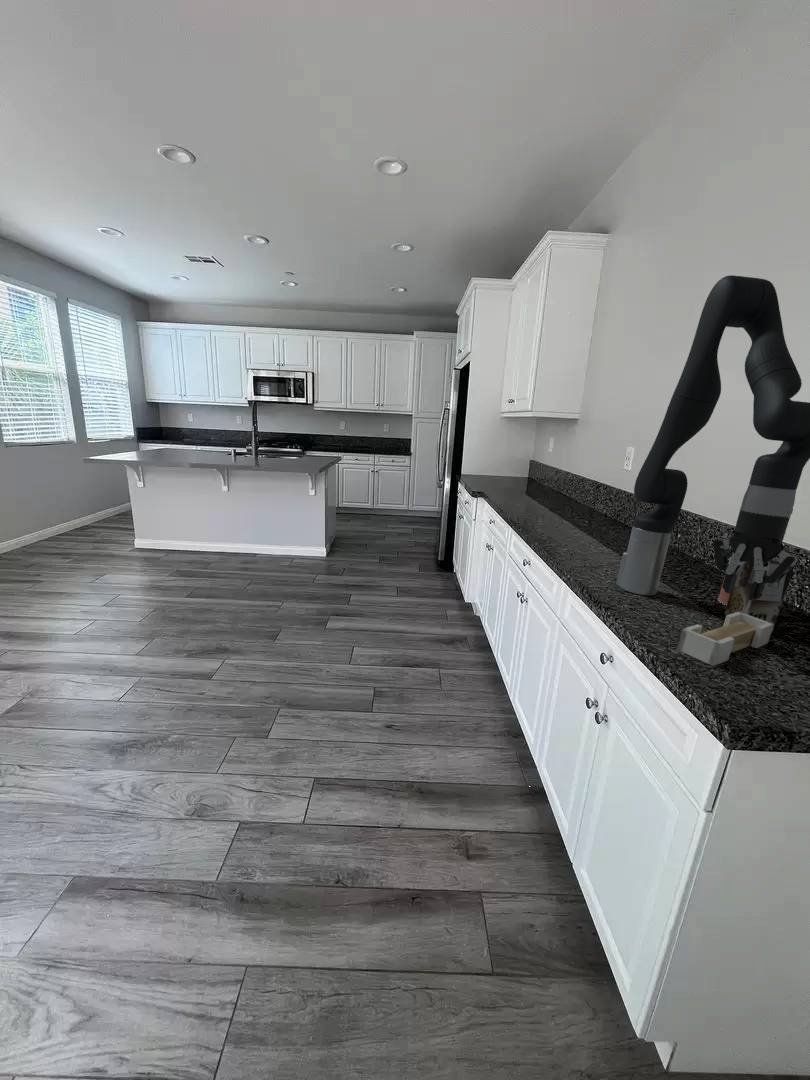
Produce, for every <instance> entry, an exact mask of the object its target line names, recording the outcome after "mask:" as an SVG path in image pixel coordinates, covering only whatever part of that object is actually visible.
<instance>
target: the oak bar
mask: <svg viewBox="0 0 810 1080" xmlns="http://www.w3.org/2000/svg"><path fill="white" fill-rule="evenodd" d="M756 629H757V627H754V626H751V625H748V624H746V623H743V622H737V623H734V624H730V625H727V626H724V627H723V626H721V627H718V628H714V629H711V630H708V631H705V632H701V633H700V634H701V635H703V636H706V637H708V638H711V639H713V640H715V641H719V640H722V639H724V638H727V637H731V638H734V639H735V640H734V643H733V646H732V649H731V652H730V654H731V653H734V652H736V651H739V650H742V649H744V648H747V646H748V647H751V644H752V641H753V638H754V635H755V632H756Z"/></svg>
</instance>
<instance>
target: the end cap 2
mask: <svg viewBox="0 0 810 1080" xmlns="http://www.w3.org/2000/svg"><path fill="white" fill-rule="evenodd" d="M737 622H743V623H746V624H748V625H751V626H754V627H757V629H756V632H755V635H754V638H753V641H752V644H751V645H750V647H752V648H755V649H758V648H760V647H763V646H765V645H768V643H769V641H770V638H771V636H772V635H771V634H772V633H773V632H772V629H773V626H774V624H772V623H769V622H767V621H764V620H761V619H758V618H755V617H752V616H749V615H746V614H744V613H741V612H736V613H733V614H730V615H726V614H725V619H724V623H723V626H722V627H724V626H727V625H730V624H734V623H737ZM774 627H775V626H774ZM773 630H774V629H773ZM771 632H772V633H771Z"/></svg>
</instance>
